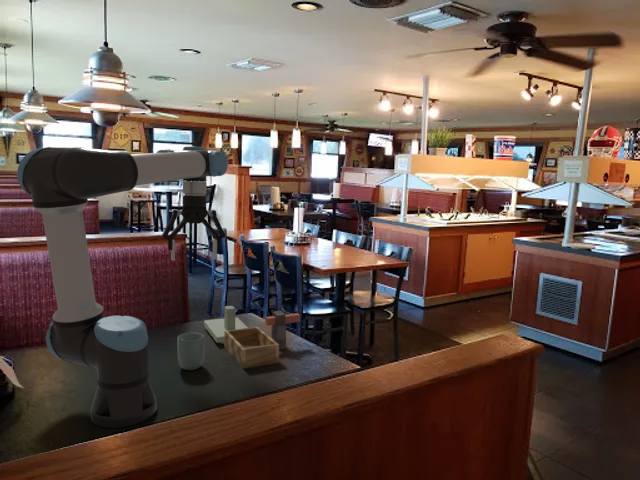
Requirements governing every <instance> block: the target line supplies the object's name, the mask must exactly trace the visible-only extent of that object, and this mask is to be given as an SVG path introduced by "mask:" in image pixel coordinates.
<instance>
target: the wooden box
mask: <svg viewBox="0 0 640 480" xmlns="http://www.w3.org/2000/svg"><path fill="white" fill-rule="evenodd" d="M271 314H272V315H271V316H276V325H271V336H270V335H269V334H267V333H266V332H265V331H263V329H261V328H260V327H259V326H253V327H248V328H243V329H235V330H227V331H224V341H225V344H224V349H225V351H227V353H229V355H230V356H231V358H232V359H234V361H235V362H236V364H238V366H240V368H241V369H243V370H244V369H249V368H250V369H251V368H256V367H261V366H262V367H263V366H268V365H273V364H279V363H280V350H284V349H287V325H286V323H285V315H286V313H285V312H283V311H282V310H275V311H271Z"/></svg>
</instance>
